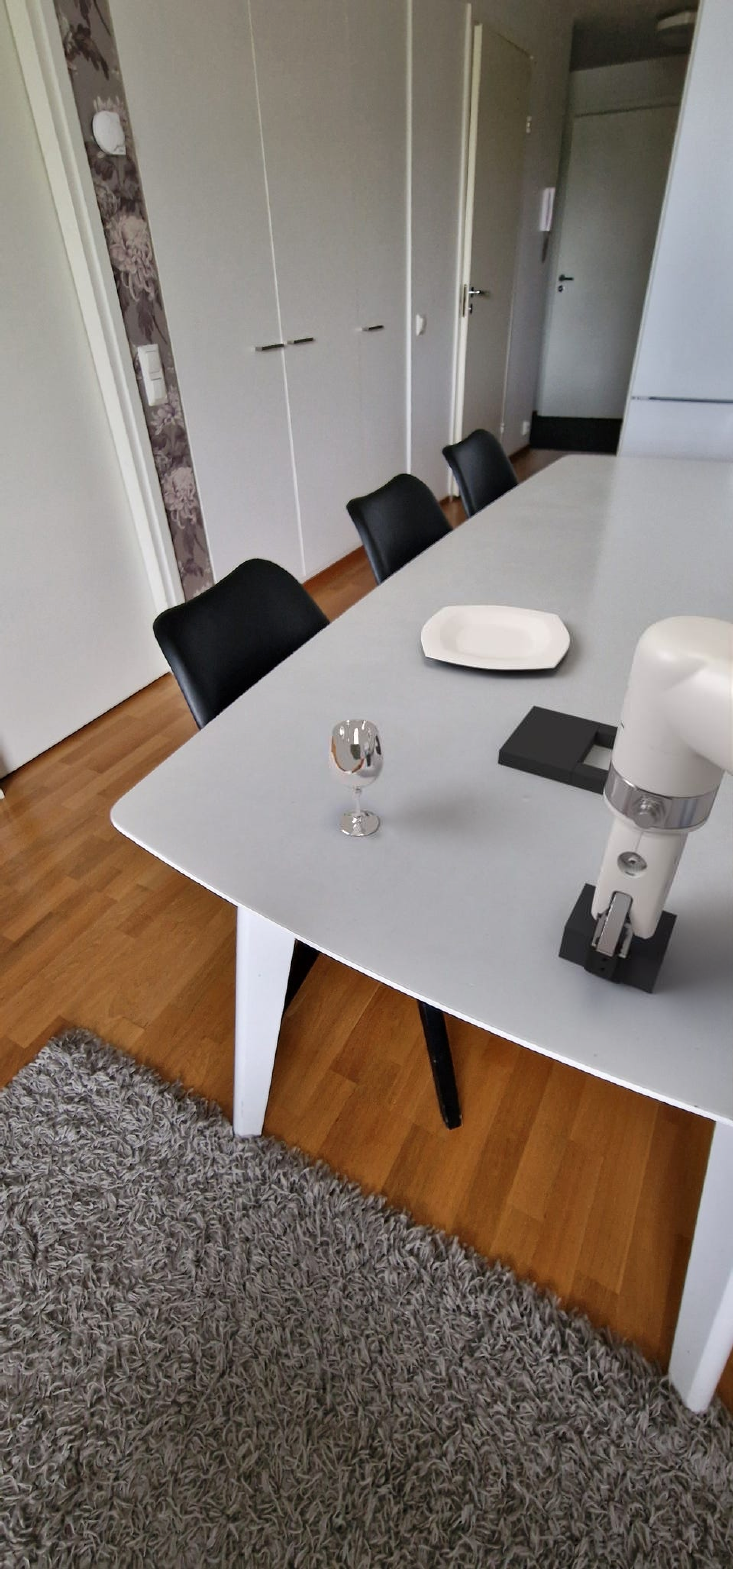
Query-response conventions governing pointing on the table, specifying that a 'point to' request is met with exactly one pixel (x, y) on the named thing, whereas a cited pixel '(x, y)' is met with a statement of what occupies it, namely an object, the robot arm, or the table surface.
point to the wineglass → (356, 769)
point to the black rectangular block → (644, 951)
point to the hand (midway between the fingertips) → (613, 946)
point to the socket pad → (558, 748)
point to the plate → (495, 637)
